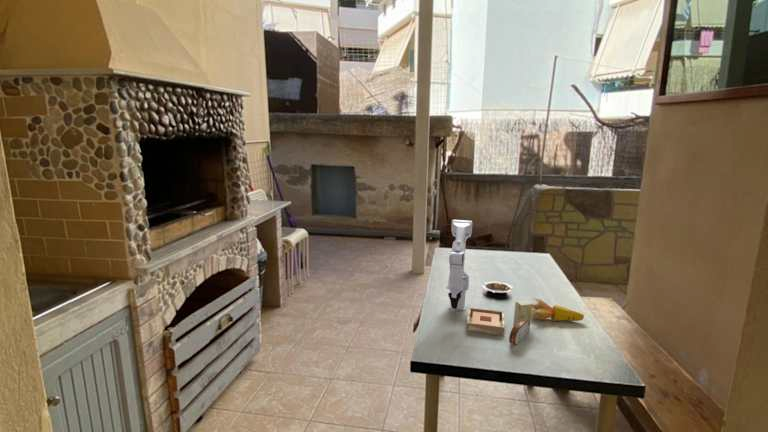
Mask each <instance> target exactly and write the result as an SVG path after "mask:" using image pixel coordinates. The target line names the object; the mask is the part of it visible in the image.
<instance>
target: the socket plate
mask: <svg viewBox="0 0 768 432" xmlns="http://www.w3.org/2000/svg"><path fill="white" fill-rule="evenodd" d="M487 321H488V322H487ZM472 323H478V324H486V325H494V326H499V314H491V313H482V312H474V311H473V316H472Z"/></svg>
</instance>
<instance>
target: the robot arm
mask: <svg viewBox="0 0 768 432" xmlns="http://www.w3.org/2000/svg"><path fill="white" fill-rule="evenodd" d="M450 229H451V234H452V236H453V237H455V239H454V241H453V242H452V247H451V252H449V256H448V257H449V258H448V259H449V260H448V263H449V275H448V283H447V285H446V289H448V290H449V292H448V293H447V294H448V299H449V306H448V309H450V310H451V306H452V308H454V309H457V306H458V301H459V309H458V311H466V307H467V301H466V293H467V292H466V291H468V290H469V288H470V287H469V286H470V285H469V283H470V276H469V274H468V273H467V272H466V271H465V260H466V259H465V258H466V245H467V243H466V242H467V239H469V238H471V237H472V233H473V232H472V231H473V221H472V220H466V219H465V220H464V219H452V220H451V228H450Z"/></svg>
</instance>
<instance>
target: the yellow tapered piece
mask: <svg viewBox="0 0 768 432" xmlns="http://www.w3.org/2000/svg"><path fill="white" fill-rule="evenodd" d="M532 299H534V301H536V302H537V303H532V304H533V305H532V314H531V320H541V319H542V320H545V319H551V321H552V322H558V321H560V322H562V321H567V322H576V321H577V322H578V321H579V322H580V321H583V320H584V318H585V316H584V314H583V313H581V312H580V311H576V310H571V309H569V308H566V307H563V306H559V305H556V304H555V305H554V306H552V307H551V306H550V305H549V304H547V303H546V302H544V301H543V300H542V299H539V298H535V297H534V298H532Z"/></svg>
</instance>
